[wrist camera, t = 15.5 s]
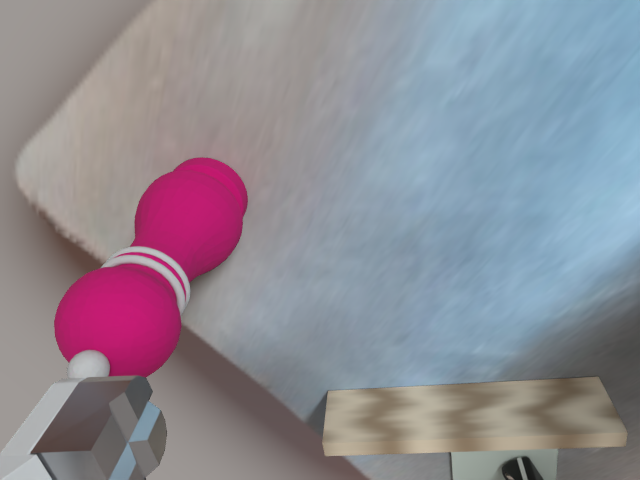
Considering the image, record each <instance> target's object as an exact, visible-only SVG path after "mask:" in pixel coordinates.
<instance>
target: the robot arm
mask: <svg viewBox="0 0 640 480" xmlns="http://www.w3.org/2000/svg"><path fill="white" fill-rule="evenodd" d="M152 392H153V391H152V389H151V387H150V385H149V383H148V381H147V379H146V378H145V377H142V376H138V375H137V376H109V377H87V378H68V379H61V380H59V381H57V382H55V383H53V384H52V386H51V387H50V388H49V390H48V391H47V392H46V393H45V395H44V396H43V397H42V399H41V400H40V401H39V403H38V404H37V405H36V407H35V408H34V409H33V411H32V412H31V413H30V415H29V416H28V417H27V419H26V420H25V422H23V424H22V425H21V426H20V428H19V429H18V430H17V432H16V433H15V434H14V436H13V437H12V439H11V440H10V441H9V442H8V444H7V445H6V446H5V448H4V449H3V450H2V452H1V453H0V480H146V478H145V477H146V476H147V475H149V474H150V473H151V472H152V471H153V470H154V469H155V468H156V467H157V466H159V464H160V461H161V459H162V456H163V454H164V451H165V445H166V437H167V430H166V423H165V419H164V417H163V414H162V412H161V410H160V409H159V408H157V407H156V406H155V405H153V404H152V403H151V402H149V399H150V397H151V395H152Z"/></svg>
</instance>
